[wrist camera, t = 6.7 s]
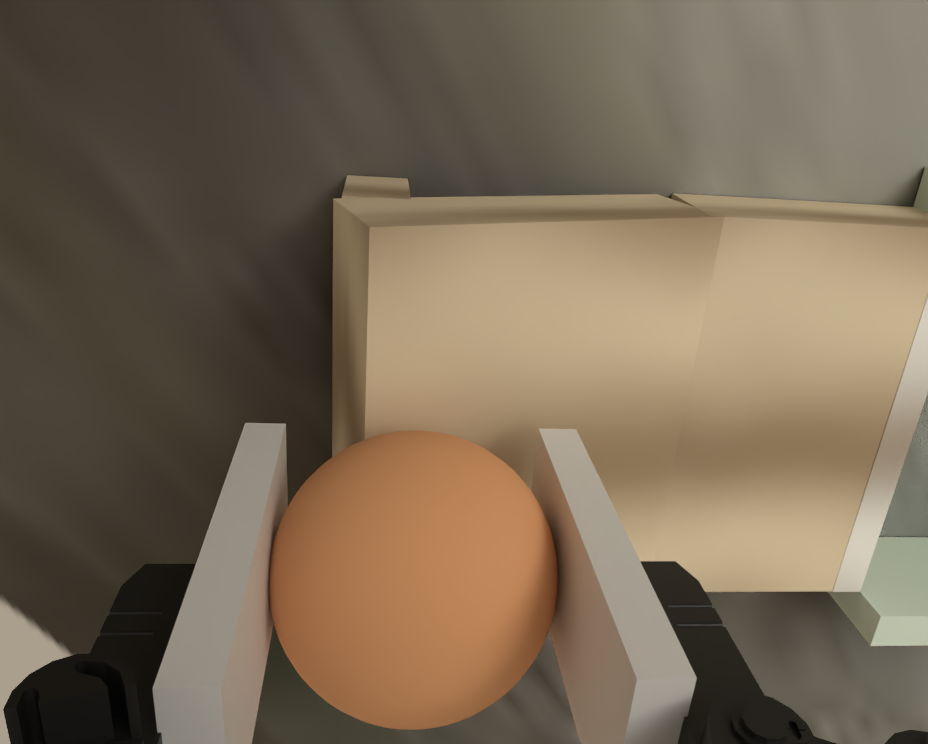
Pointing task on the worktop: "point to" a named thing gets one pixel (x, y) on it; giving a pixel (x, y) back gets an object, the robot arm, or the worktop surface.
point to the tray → (893, 574)
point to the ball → (413, 580)
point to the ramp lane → (652, 358)
